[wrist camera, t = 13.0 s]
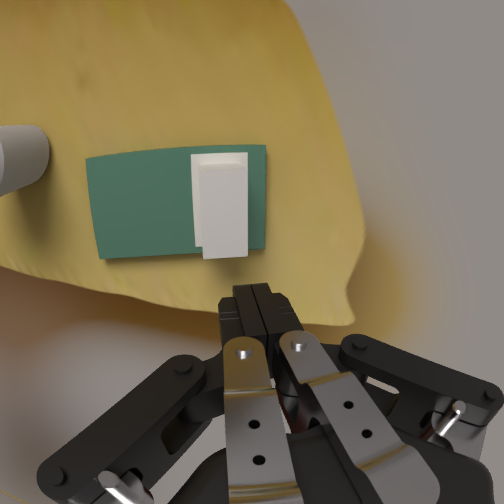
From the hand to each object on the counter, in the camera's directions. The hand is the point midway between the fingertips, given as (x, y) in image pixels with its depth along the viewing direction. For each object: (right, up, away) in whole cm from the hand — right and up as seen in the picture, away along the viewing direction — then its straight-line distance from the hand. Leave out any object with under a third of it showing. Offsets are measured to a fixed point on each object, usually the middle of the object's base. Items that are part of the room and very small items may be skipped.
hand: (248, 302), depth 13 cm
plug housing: (-3, +8, +18) cm, 20 cm away
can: (-27, +14, +13) cm, 33 cm away
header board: (-8, +8, +19) cm, 22 cm away
